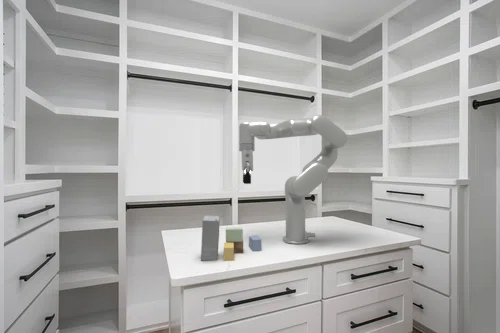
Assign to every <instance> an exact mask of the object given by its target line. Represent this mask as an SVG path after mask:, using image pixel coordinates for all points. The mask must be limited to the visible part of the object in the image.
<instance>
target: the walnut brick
mask: <svg viewBox="0 0 500 333" xmlns="http://www.w3.org/2000/svg"><path fill="white" fill-rule="evenodd" d="M225 243H234V254H235V255H236V254H238V255H239V254H244V240H243V241H239V242H226V241H225Z"/></svg>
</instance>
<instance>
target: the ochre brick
mask: <svg viewBox="0 0 500 333" xmlns="http://www.w3.org/2000/svg"><path fill="white" fill-rule="evenodd" d="M234 256H235V255H234V243H226V242H224V243H223V262H226V261H227V262H228V261H235V259H234V258H235V257H234Z"/></svg>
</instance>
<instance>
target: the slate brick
mask: <svg viewBox="0 0 500 333" xmlns="http://www.w3.org/2000/svg"><path fill="white" fill-rule="evenodd" d="M262 241H263V240H262V238H260V236H258V235H257V234H256V235H248V247H249V249H250V250H251V251H252V252H261V251H262V250H263V249H262V246H263V245H262Z"/></svg>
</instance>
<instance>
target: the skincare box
mask: <svg viewBox="0 0 500 333" xmlns="http://www.w3.org/2000/svg"><path fill="white" fill-rule="evenodd" d="M220 219H221V217H220V216H218V215H204V216H203V219H202V225H201V226H202V229H201V230H202V231H201V248H200V249H201V250H200V261H203V262H204V261H205V262H207V261H218V255H219V244H220V243H219V242H220Z"/></svg>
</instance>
